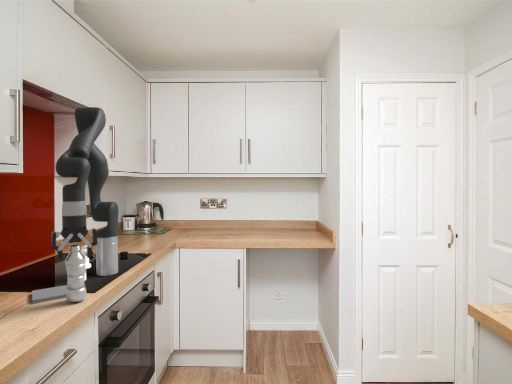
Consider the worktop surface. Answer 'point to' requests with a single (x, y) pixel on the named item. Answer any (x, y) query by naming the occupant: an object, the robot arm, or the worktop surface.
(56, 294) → the board
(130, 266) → the worktop surface
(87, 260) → the white cylindrical piece
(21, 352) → the worktop surface
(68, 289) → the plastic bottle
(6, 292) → the worktop surface
